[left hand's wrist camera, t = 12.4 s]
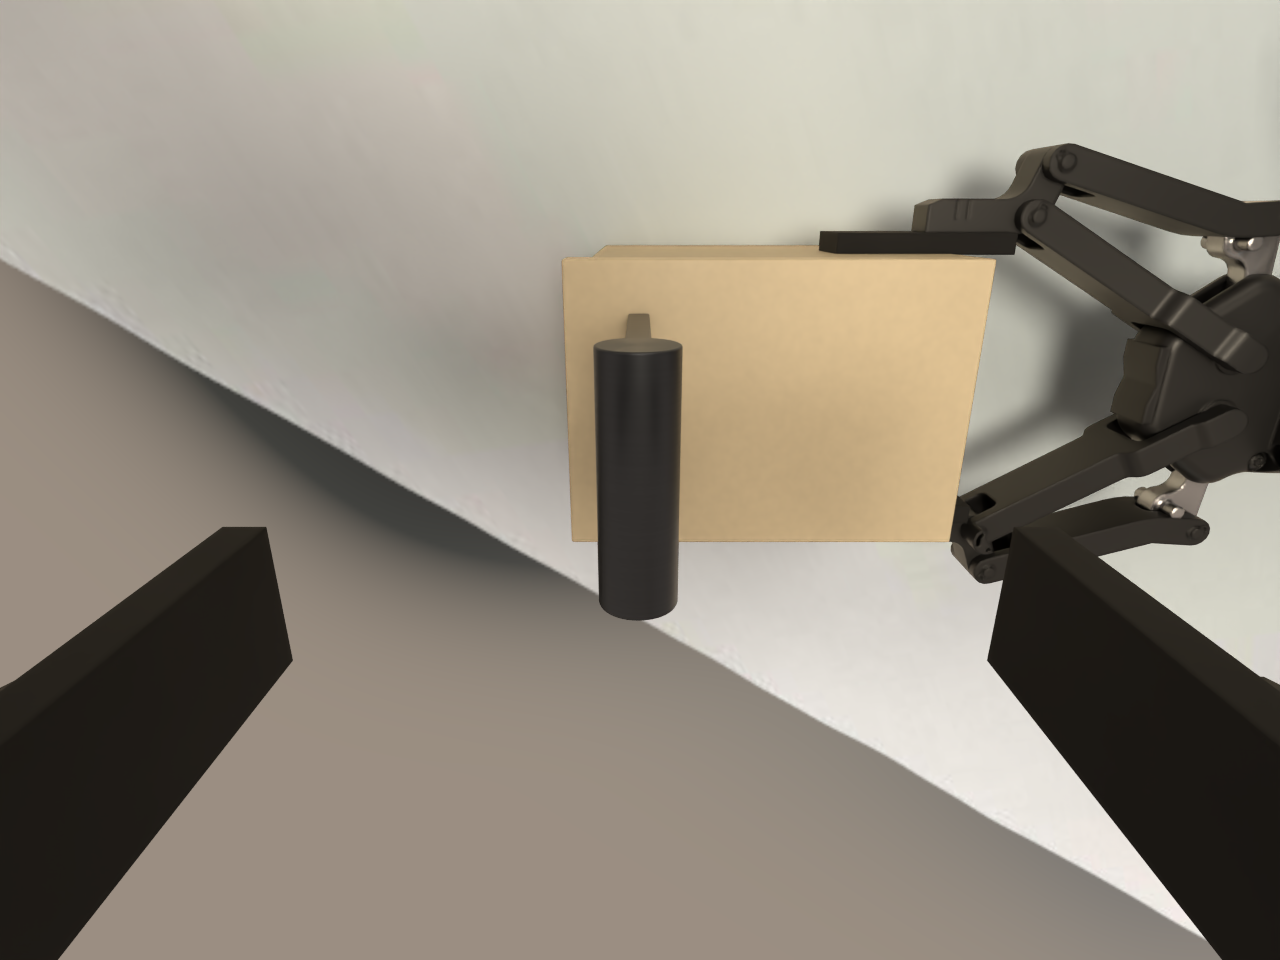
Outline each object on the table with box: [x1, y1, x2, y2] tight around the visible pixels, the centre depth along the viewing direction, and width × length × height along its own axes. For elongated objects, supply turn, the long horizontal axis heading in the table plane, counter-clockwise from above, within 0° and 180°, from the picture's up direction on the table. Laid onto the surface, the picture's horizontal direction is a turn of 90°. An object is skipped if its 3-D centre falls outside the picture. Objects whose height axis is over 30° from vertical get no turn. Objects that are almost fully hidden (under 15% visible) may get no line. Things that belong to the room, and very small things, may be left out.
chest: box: [593, 245, 972, 257], centre depth 30 cm, size 13×10×10 cm
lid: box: [562, 257, 996, 620], centre depth 21 cm, size 14×10×9 cm
